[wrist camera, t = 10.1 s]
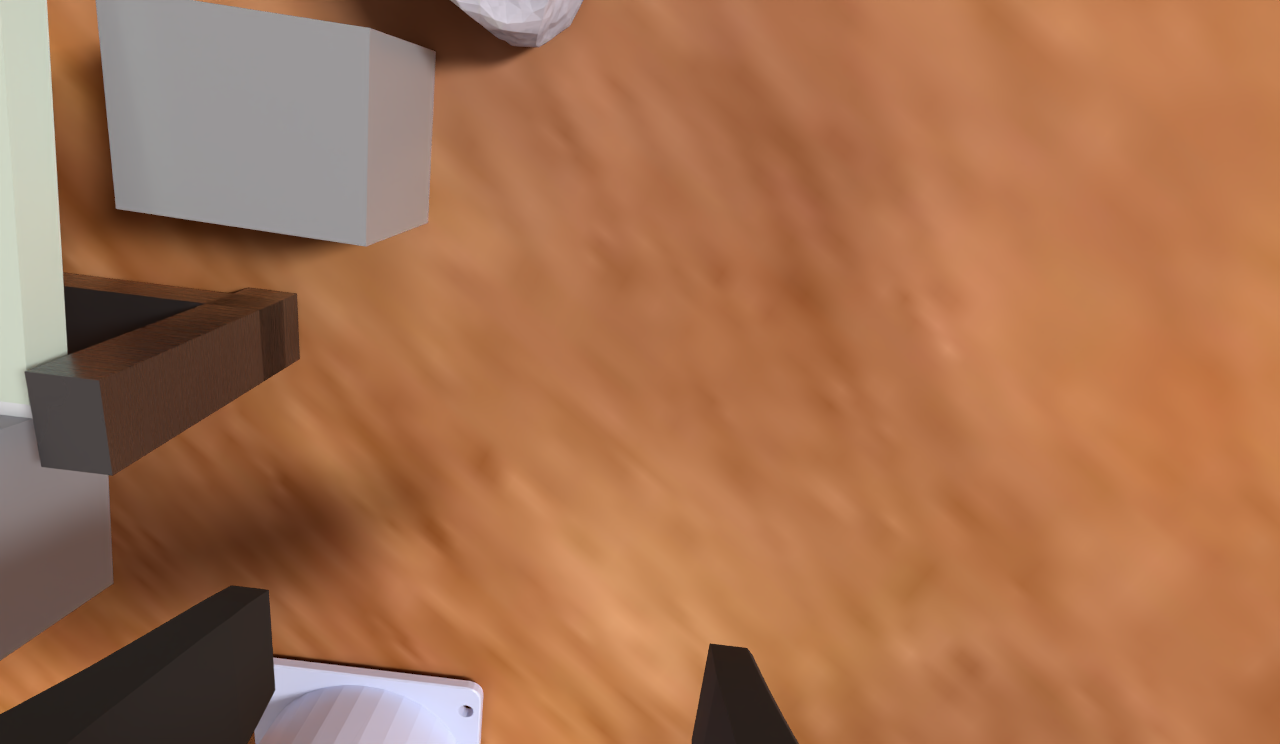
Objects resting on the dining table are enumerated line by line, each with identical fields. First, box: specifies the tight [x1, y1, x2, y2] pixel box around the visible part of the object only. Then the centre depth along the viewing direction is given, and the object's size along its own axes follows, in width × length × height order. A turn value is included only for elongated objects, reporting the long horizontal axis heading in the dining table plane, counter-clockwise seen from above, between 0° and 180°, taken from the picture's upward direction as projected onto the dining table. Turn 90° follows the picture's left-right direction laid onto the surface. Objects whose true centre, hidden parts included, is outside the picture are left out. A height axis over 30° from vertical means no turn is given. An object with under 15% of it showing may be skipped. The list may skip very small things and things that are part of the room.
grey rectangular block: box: [96, 0, 436, 246], centre depth 17 cm, size 4×4×6 cm
